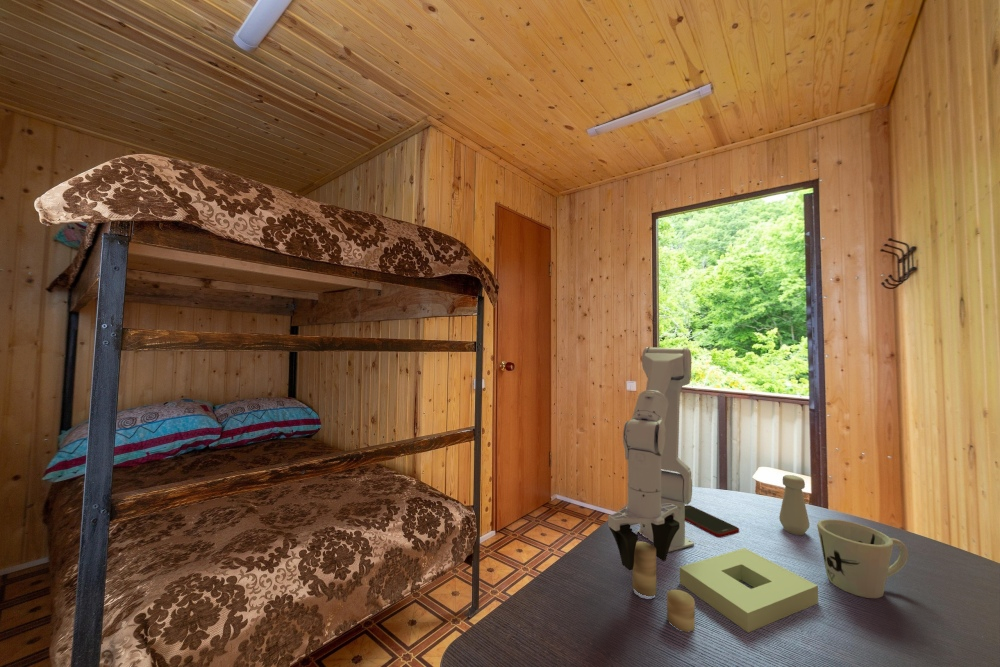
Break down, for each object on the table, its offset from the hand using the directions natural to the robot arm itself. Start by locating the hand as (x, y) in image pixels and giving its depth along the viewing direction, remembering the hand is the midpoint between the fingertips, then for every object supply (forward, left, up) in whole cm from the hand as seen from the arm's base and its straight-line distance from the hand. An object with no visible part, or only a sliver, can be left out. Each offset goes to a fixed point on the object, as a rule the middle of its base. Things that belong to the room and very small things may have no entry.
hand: (644, 562), depth 68 cm
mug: (+14, +40, -6) cm, 43 cm away
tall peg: (0, 0, -5) cm, 5 cm away
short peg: (+8, 0, -5) cm, 10 cm away
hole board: (+7, +17, -5) cm, 19 cm away
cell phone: (-16, +34, -6) cm, 38 cm away
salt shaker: (-4, +50, -6) cm, 51 cm away
